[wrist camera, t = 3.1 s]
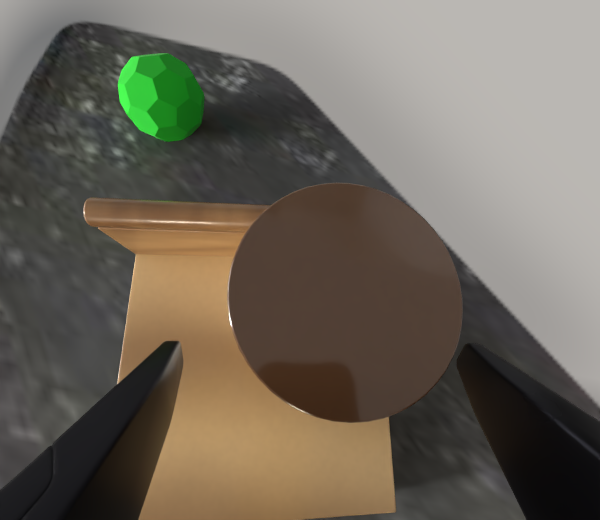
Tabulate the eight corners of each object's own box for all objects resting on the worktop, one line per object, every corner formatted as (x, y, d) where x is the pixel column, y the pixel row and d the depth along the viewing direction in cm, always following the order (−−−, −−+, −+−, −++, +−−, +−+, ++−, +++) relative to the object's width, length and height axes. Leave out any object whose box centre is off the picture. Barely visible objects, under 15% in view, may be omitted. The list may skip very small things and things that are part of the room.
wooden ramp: (381, 493, 17) (463, 599, 10) (116, 510, 15) (-8, 652, 8) (364, 252, 20) (416, 206, 14) (151, 246, 19) (85, 192, 12)
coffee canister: (367, 350, 17) (505, 363, 7) (268, 391, 16) (276, 471, 6) (329, 256, 18) (403, 159, 8) (235, 288, 17) (196, 217, 7)
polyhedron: (204, 159, 21) (188, 108, 16) (131, 151, 20) (93, 96, 16) (214, 101, 22) (201, 39, 18) (146, 92, 22) (114, 25, 17)
